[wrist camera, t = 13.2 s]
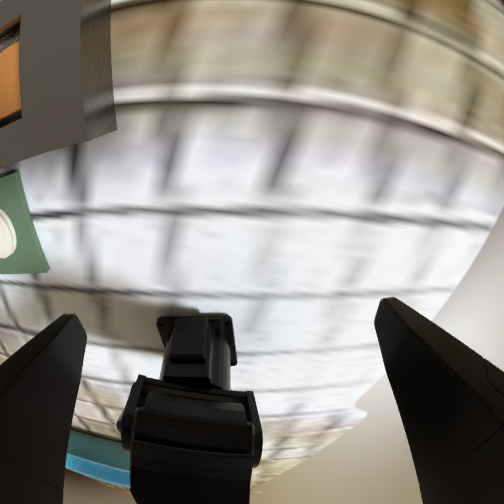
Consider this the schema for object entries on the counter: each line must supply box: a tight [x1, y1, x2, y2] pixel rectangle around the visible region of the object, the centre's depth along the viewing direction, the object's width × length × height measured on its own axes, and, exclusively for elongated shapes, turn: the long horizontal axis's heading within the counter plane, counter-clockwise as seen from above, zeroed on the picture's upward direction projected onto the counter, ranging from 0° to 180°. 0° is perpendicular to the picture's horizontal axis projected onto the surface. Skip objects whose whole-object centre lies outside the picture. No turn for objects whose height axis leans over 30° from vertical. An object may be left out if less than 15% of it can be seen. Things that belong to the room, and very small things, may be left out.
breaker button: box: [0, 41, 21, 121], centre depth 11 cm, size 5×5×1 cm
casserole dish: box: [65, 429, 130, 488], centre depth 41 cm, size 37×22×7 cm, turn 85°
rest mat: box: [0, 171, 50, 274], centre depth 18 cm, size 9×9×1 cm
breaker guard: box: [0, 0, 117, 168], centre depth 10 cm, size 12×16×4 cm
